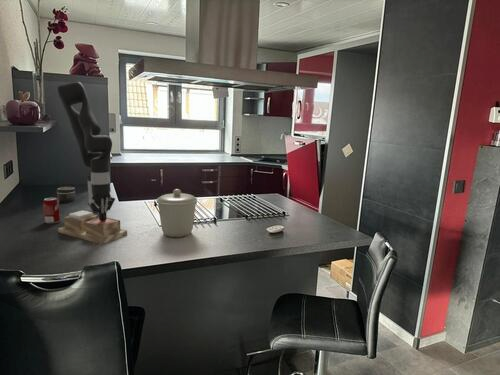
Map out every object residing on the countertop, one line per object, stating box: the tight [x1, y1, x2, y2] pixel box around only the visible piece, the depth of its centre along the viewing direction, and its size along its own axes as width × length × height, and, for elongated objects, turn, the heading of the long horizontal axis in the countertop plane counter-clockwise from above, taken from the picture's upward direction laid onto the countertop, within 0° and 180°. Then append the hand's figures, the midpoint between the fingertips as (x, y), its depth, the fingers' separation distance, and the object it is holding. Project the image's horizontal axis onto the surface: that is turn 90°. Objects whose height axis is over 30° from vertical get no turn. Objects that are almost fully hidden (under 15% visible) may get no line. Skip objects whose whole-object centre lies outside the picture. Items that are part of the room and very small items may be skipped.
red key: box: [91, 219, 115, 225], centre depth 154 cm, size 7×7×3 cm
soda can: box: [42, 197, 61, 225], centre depth 171 cm, size 7×7×12 cm
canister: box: [155, 188, 198, 238], centre depth 160 cm, size 18×18×21 cm
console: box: [57, 213, 128, 245], centre depth 158 cm, size 14×28×7 cm, turn 63°
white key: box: [68, 210, 94, 220], centre depth 160 cm, size 7×7×3 cm
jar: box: [56, 186, 76, 203], centre depth 215 cm, size 10×10×8 cm
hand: (102, 220), depth 154 cm, fingers closed
